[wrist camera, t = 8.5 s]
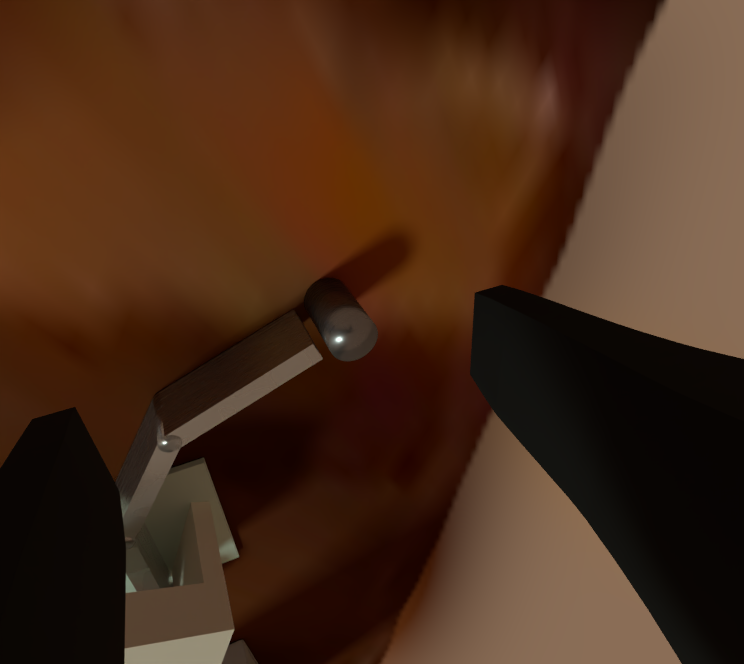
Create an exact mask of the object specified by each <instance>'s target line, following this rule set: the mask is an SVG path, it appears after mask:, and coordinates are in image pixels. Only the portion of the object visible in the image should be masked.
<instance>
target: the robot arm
mask: <svg viewBox="0 0 744 664" xmlns="http://www.w3.org/2000/svg"><path fill="white" fill-rule="evenodd" d="M470 375H471V376H472V378H473V379H474V381H475V383H476V384H477V386H478V387H479V389H480V391H481V392H482V394H483V395H484V397H485V398H486V400H487V401H488V403H489V404H490V406H491V407H492V409H493V410H494V412H495V413H496V414H497V416H498V417H499V418H500V419H501V420H502V422H503V423H504V424H505V425H506V426H507V428H508V429H509V430H510V431H511V432H512V433H513V434H514V436H515V437H516V438H517V439H518V440H519V441H520V443H521V444H522V445H523V446H524V447H525V448H526V450H528V452H529V453H530V454H531V455H532V456H533V457H534V459H535V460H536V461H537V462H538V463H539V464H540V465H541V467H542V468H543V469H544V470H545V471H546V472H547V473H548V475H549V476H550V477H551V478H552V479H553V480H554V481H555V483H556V484H557V485H558V486H559V487H560V488H561V489H562V491H563V492H564V493H565V494H566V495H567V496H568V497H569V499H570V500H571V501H572V502H573V504H574V505H575V506H576V507H577V509H578V510H579V511H580V512H581V514H582V515H583V516H584V517H585V519H586V520H587V521H588V523H589V524H590V525H591V527H592V528H593V530H594V531H595V533H596V534H597V535H598V537H599V538H600V540H601V541H602V542H603V544H604V545H605V547H606V548H607V549H608V551H609V552H610V554H611V555H612V557H613V558H614V559H615V561H616V562H617V564H618V565H619V567H620V568H621V570H622V571H623V573H624V574H625V575H626V577H627V579H628V580H629V581H630V583H631V585H632V586H633V588H634V589H635V591H636V592H637V593H638V595H639V597H640V598H641V599H642V601H643V602H644V604H645V606H646V607H647V608H648V610H649V612H650V613H651V615H652V617H653V618H654V620H655V621H656V623H657V625H658V626H659V628H660V629H661V631H662V633H663V634H664V636H665V637H666V639H667V641H668V642H669V644H670V645H671V647H672V649H673V650H674V652H675V653H676V654H677V657H678V658H679V660H680V661H681V663H682V664H744V359H741V358H737V357H733V356H728V355H724V354H720V353H716V352H711V351H707V350H703V349H699V348H695V347H692V346H688V345H684V344H681V343H676V342H674V341H670V340H667V339H664V338H660V337H657V336H654V335H651V334H647V333H643V332H640V331H637V330H634V329H631V328H628V327H625V326H622V325H619V324H616V323H613V322H610V321H607V320H604V319H602V318H599V317H596V316H593V315H590V314H587V313H584V312H581V311H579V310H576V309H573V308H570V307H567V306H565V305H562V304H559V303H556V302H554V301H551V300H548V299H545V298H542V297H539V296H536V295H534V294H531V293H528V292H525V291H521V290H518V289H515V288H511V287H508V286H504V285H500V286H497V287H493V288H490V289H486V290H483V291H479V292H476V293H475V300H474V317H473V334H472V351H471V368H470ZM125 604H126V542H125V533H124V524H123V516H122V508H121V500H120V493H119V490H118V488H117V486H116V484H115V482H114V480H113V478H112V476H111V474H110V472H109V471H108V469H107V467H106V465H105V463H104V461H103V459H102V457H101V455H100V453H99V452H98V450H97V448H96V446H95V444H94V442H93V440H92V438H91V436H90V435H89V433H88V431H87V429H86V427H85V425H84V423H83V421H82V419H81V417H80V416H79V414H78V412H77V410H76V408H75V407H73V408H70V409H66V410H63V411H59V412H56V413H52V414H49V415H45V416H42V417H38V418H35V419H32V421H31V422H30V424H29V425H28V427H27V428H26V430H25V431H24V433H23V434H22V436H21V437H20V439H19V440H18V442H17V443H16V445H15V446H14V448H13V449H12V451H11V453H10V454H9V456H8V457H7V459H6V460H5V462H4V464H3V465H2V467H1V468H0V664H124V659H125Z"/></svg>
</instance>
